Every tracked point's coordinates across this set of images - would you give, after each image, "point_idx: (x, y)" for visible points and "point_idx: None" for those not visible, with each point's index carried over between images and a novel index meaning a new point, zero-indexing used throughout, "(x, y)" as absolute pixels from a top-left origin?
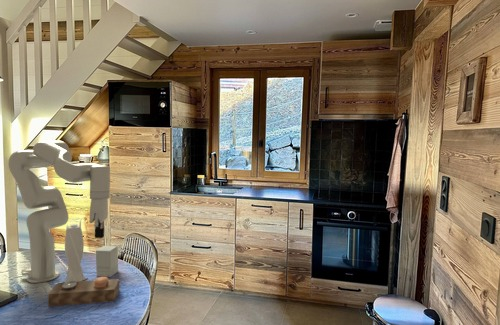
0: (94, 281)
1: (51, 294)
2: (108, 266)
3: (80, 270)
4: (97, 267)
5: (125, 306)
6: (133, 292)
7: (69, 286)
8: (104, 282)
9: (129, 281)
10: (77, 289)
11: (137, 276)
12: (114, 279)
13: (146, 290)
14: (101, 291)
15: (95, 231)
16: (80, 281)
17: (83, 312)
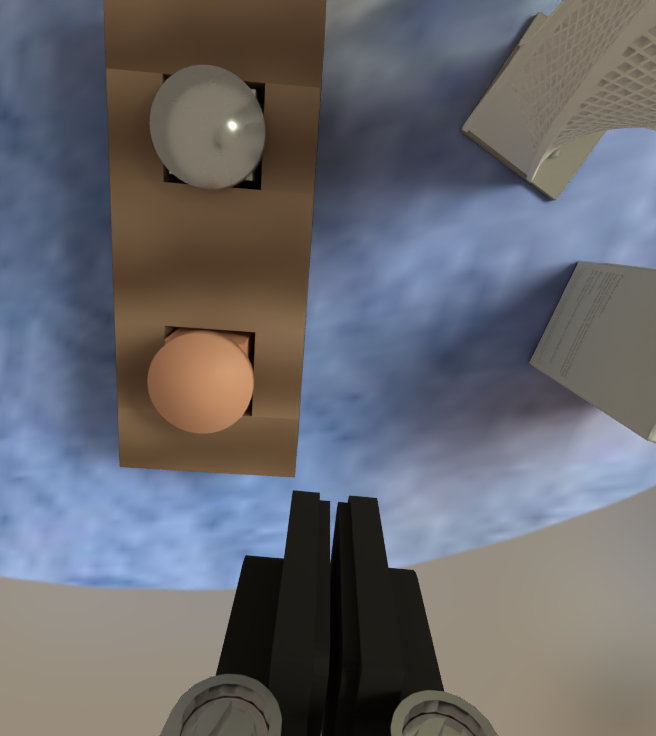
0: (174, 338)
1: (105, 11)
2: (573, 369)
3: (536, 149)
4: (613, 274)
5: (79, 495)
6: (247, 520)
7: (154, 142)
8: (163, 410)
9: (414, 486)
10: (157, 210)
11: (480, 525)
12: (290, 447)
13: None
14: (119, 385)
15: (282, 600)
16: (310, 199)
17: (33, 280)
